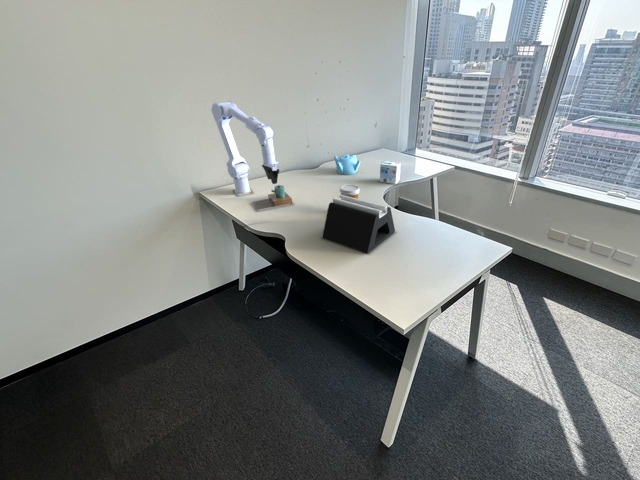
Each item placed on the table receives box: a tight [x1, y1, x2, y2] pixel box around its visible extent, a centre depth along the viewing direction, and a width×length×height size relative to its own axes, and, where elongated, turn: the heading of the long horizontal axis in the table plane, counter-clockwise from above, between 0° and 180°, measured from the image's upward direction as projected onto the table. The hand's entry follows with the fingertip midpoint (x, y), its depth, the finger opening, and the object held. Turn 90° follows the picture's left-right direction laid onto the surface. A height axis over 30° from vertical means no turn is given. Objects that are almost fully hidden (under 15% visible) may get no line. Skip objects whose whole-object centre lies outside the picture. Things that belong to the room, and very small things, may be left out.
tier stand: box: [251, 191, 293, 211], centre depth 166 cm, size 11×18×3 cm, turn 120°
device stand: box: [322, 194, 396, 254], centre depth 137 cm, size 22×22×15 cm
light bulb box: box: [379, 160, 401, 185], centre depth 195 cm, size 11×7×11 cm, turn 68°
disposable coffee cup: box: [339, 184, 361, 199], centre depth 158 cm, size 10×10×12 cm
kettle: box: [270, 184, 286, 198], centre depth 166 cm, size 7×5×5 cm
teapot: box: [333, 153, 362, 176], centre depth 209 cm, size 15×15×11 cm
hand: (272, 181), depth 165 cm, fingers open, 7 cm apart
